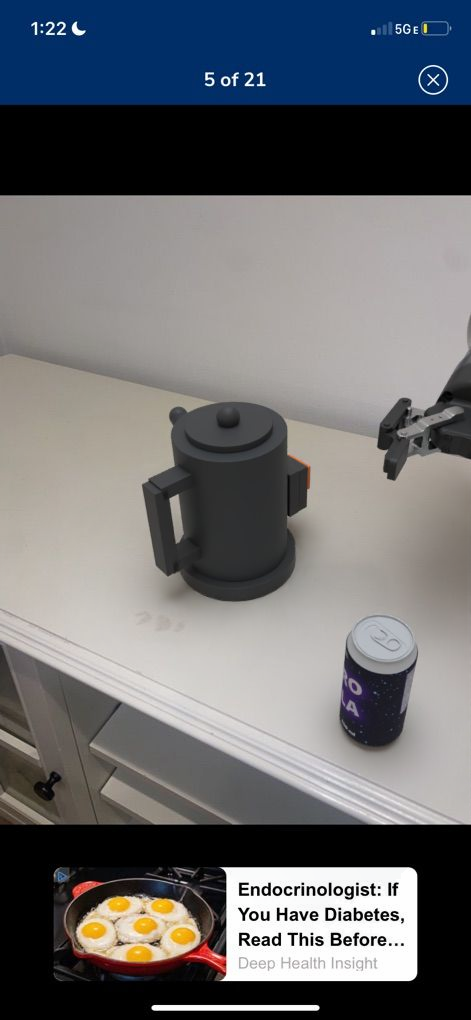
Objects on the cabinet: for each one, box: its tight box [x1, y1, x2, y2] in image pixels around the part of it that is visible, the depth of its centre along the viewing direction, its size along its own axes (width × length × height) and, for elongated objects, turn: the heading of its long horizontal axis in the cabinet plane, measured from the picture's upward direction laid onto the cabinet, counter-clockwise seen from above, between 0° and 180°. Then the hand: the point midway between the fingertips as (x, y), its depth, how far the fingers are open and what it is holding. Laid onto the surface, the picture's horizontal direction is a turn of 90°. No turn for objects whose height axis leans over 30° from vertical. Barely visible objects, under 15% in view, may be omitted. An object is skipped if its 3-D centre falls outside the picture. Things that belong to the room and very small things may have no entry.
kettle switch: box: [288, 454, 311, 490], centre depth 74 cm, size 1×4×3 cm, turn 39°
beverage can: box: [338, 613, 419, 747], centre depth 53 cm, size 6×6×12 cm
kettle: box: [141, 401, 308, 602], centre depth 69 cm, size 19×18×21 cm
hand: (442, 485), depth 51 cm, fingers open, 8 cm apart
